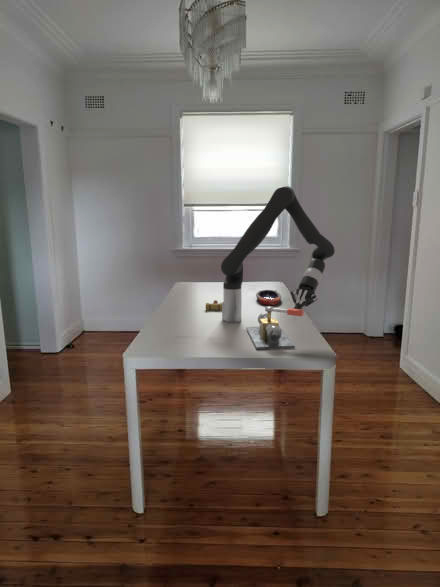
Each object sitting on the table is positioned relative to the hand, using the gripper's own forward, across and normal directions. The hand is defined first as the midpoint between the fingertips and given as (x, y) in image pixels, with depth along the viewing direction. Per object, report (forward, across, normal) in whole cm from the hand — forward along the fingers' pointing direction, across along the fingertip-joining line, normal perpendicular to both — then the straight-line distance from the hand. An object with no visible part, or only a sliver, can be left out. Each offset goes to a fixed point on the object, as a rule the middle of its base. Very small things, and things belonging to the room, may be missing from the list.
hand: (296, 312), depth 162 cm
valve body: (+12, -11, +6) cm, 17 cm away
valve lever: (+2, -4, -2) cm, 5 cm away
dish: (-29, -49, +48) cm, 75 cm away
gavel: (-7, -66, +26) cm, 72 cm away
